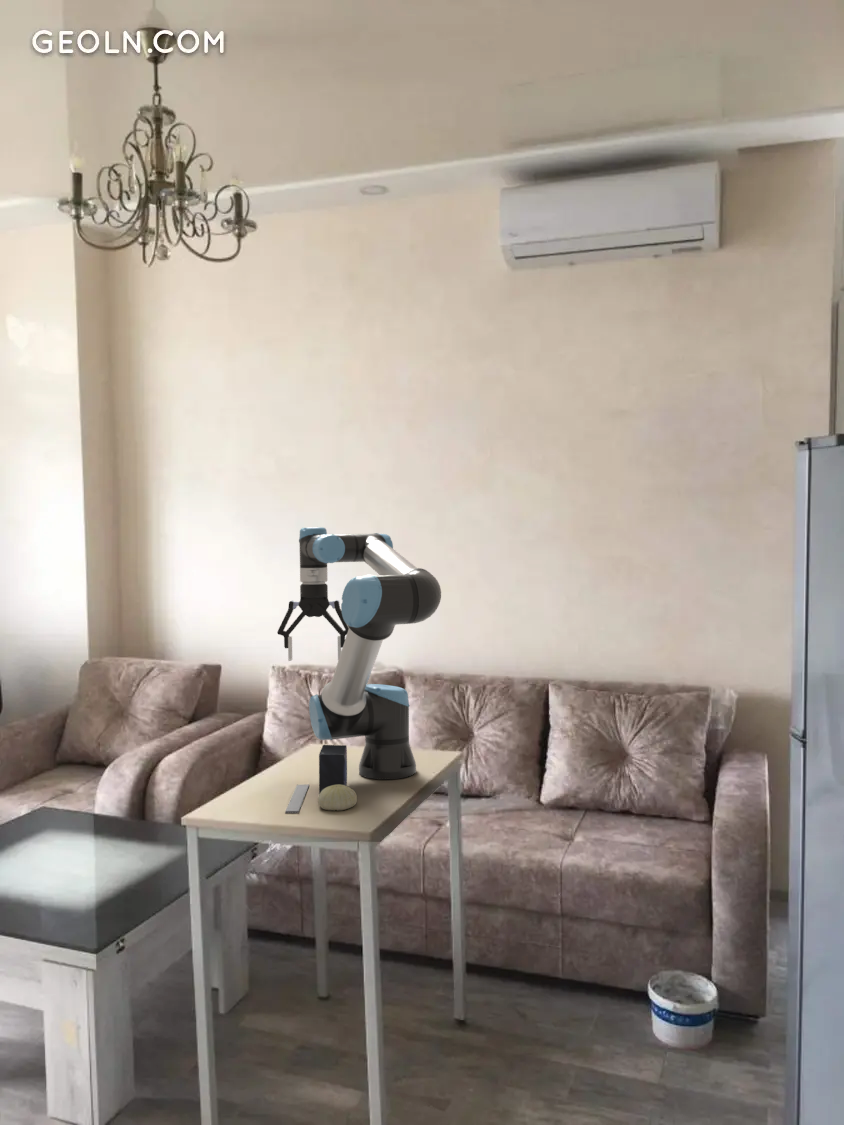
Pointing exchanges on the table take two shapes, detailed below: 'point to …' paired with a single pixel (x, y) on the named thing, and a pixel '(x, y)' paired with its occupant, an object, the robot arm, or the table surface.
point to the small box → (332, 766)
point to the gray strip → (297, 799)
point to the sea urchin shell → (337, 797)
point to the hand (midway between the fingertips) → (315, 659)
